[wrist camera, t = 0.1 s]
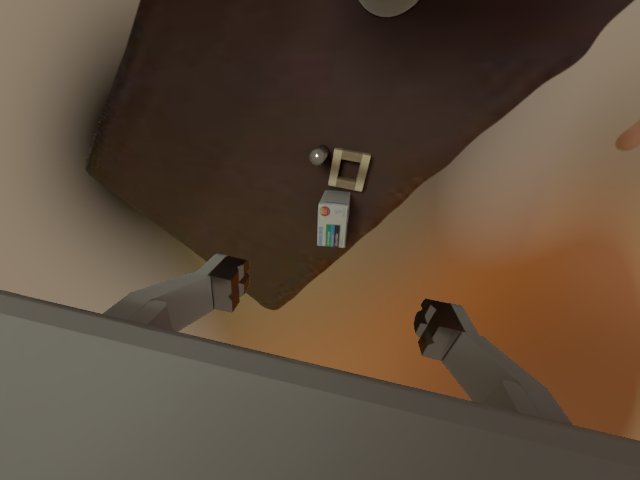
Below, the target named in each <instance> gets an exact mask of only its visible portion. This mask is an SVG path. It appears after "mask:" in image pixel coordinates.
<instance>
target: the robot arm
mask: <svg viewBox="0 0 640 480" xmlns="http://www.w3.org/2000/svg"><path fill="white" fill-rule="evenodd" d="M418 1H419V0H359V2H360V3H361V5H362V6H363V7H364V8H365V9H366V10H368V11H369V12H370V13H372V14H374V15H377V16H380V17H392V16H396V15H399V14H401V13H403V12H405V11H407V10H408V9H410V8H411V7H412V6H414V5H415V4H416V3H417V2H418ZM249 268H250V263H249V261H248V260H244V259H240V258H236V257H231V256H227V255H222V254H215V255H214V256H213V257H212V258H211V259H210V260H208V261H207V262H206V263H205V264H204V265H203V266H202V267H201V268H200V269H199V270H198V271H197V272H196V273H193V272H191V273H188V274H185V275H182V276H180V277H176V278H174V279H170V280H167V281H165V282H161V283H158V284H155V285H153V286H150V287H146V288H144V289H140V290H137V291H135V292H132V293H129V294H128V295H127V296H125V297H124V298H123V299H122V300H120V301H119V302H117V303H116V304H115V305H114V306H112V307H111V308H110V309H108V310H107V311H106V312H104V313H103V314H100V313H95V312H91V311H87V310H83V309H78V308H74V307H69V306H66V305H61V304H57V303H53V302H48V301H44V300H40V299H35V298H32V297H27V296H23V295H20V294H16V293H12V292H8V291H3V290H0V480H640V441H638V440H634V439H630V438H625V437H621V436H617V435H612V434H608V433H604V432H600V431H595V430H591V429H587V428H583V427H579V426H574V425H573V424H572V423H571V421H570V420H569V418H568V417H567V416H566V414H565V413H564V412H563V410H562V409H561V407H560V406H559V404H558V403H557V401H556V400H555V399H554V397H553V396H552V394H551V393H550V392H549V391H548V389H547V388H546V387H545V386H543V385H542V384H541V383H540V382H538V381H537V380H536V379H535V378H534V377H532V376H531V375H530V374H529V373H527V372H526V371H525V370H524V369H523V368H521V367H520V366H519V365H518V364H516V363H515V362H514V361H513V360H511V359H510V358H509V357H508V356H507V355H505V354H504V353H503V352H502V351H500V350H499V349H498V348H497V347H496V346H494V345H493V344H492V343H490V342H489V341H488V340H487V339H486V338H485V337H483V336H479V334H478V332H477V330H476V329H475V327H474V325H473V323H472V322H471V320H470V318H469V316H468V315H467V313H466V311H465V310H464V308H463V307H462V306H461V305H456V304H451V303H444V302H439V301H434V300H430V299H425V300H424V301H423V302H422V304H421V306H422V310H421V311H419V312H417V314H416V317H415V321H414V329H415V333H416V334H417V335H418V336H419V337H420V339H419V341H418V343H419V347H420V351H421V355H422V356H425V357H429V358H433V359H437V360H440V361H442V362H443V364H444V365H445V366H446V368H447V369H448V370H449V371H450V373H451V374H452V375H453V377H454V378H455V379H456V380H457V382H458V383H459V384H460V385H461V387H462V388H463V389H464V390H465V392H466V393H467V394H468V396H469V397H470V398H471V399H472V401H468V400H464V399H459V398H456V397H451V396H447V395H443V394H438V393H435V392H430V391H426V390H422V389H418V388H413V387H409V386H405V385H401V384H396V383H392V382H388V381H384V380H380V379H375V378H370V377H367V376H362V375H358V374H354V373H350V372H345V371H341V370H337V369H333V368H328V367H324V366H320V365H316V364H311V363H307V362H303V361H298V360H295V359H290V358H285V357H282V356H278V355H273V354H269V353H265V352H261V351H257V350H252V349H248V348H244V347H240V346H235V345H231V344H227V343H222V342H218V341H214V340H210V339H206V338H201V337H197V336H193V335H189V334H184V333H180V332H178V331H180V330H181V329H183V328H185V327H186V326H188V325H190V324H191V323H193V322H195V321H196V320H198V319H200V318H201V317H203V316H204V315H206V314H207V313H209V312H211V311H213V310H214V309H217V310H222V311H227V312H233V311H234V309H235V308H236V306H237V305H238V303H239V297H240V296H243V295H244V294H245V292H246V291H247V288H248V286H249V281H250V275H249V274H248V273H247V271H248V270H249Z"/></svg>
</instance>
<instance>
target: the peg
mask: <svg viewBox="0 0 640 480" xmlns="http://www.w3.org/2000/svg"><path fill="white" fill-rule="evenodd" d="M328 155H329V149H328V147H327V146H325V145H320V146H319V147H317V148H316V149H315V150H313V151H312V152H311V153H310V161H311V163H312V164H314V165H320V164H322V163H323V162H324V160H325V159H326V158H327V157H328Z"/></svg>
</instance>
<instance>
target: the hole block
mask: <svg viewBox="0 0 640 480" xmlns="http://www.w3.org/2000/svg"><path fill="white" fill-rule="evenodd" d="M370 158H371V155H370V154H369V153H363V152H358V151H353V150H347V149H342V148H337V147H336V148H335V149H334V154H333V160H332V166H331V172H330V177H329V183H328V185H330V186H335V187H340V188H345V189H350V190H355V191H360V192H362V189H363V185H364V181H365V177H366V173H367V169H368V166H369V162H370ZM341 159H344V160H349V161H354V162H360V165H359V170H358V174H357V178H356V179H352V178H347V177H341V176H338V173H339V168H340V163H341Z"/></svg>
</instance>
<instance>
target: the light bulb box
mask: <svg viewBox="0 0 640 480" xmlns="http://www.w3.org/2000/svg"><path fill="white" fill-rule="evenodd" d="M349 205H350V192H344V191H332V190H325V192H324V194H323V196H322V198H321V200H320V202H319V204H318V233H317V245H319V246H330V247H340V248H345V244H346V236H347V228H348V218H349Z"/></svg>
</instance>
